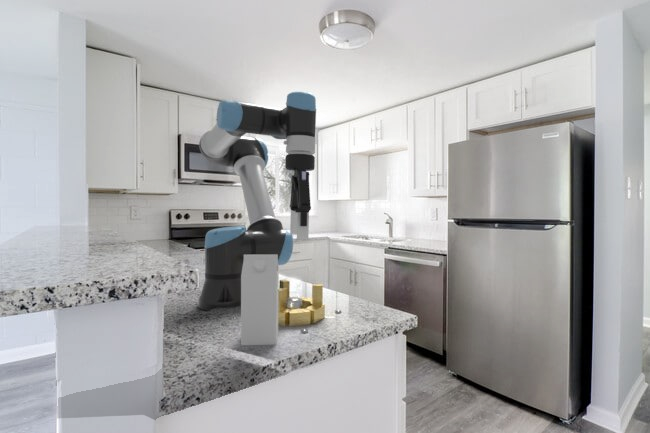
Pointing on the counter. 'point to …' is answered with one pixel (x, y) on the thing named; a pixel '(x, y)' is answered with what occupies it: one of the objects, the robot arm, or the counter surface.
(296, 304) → the flange plate
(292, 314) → the gold foil sensor mount
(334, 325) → the counter surface
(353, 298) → the counter surface
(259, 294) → the milk carton
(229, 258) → the robot arm
